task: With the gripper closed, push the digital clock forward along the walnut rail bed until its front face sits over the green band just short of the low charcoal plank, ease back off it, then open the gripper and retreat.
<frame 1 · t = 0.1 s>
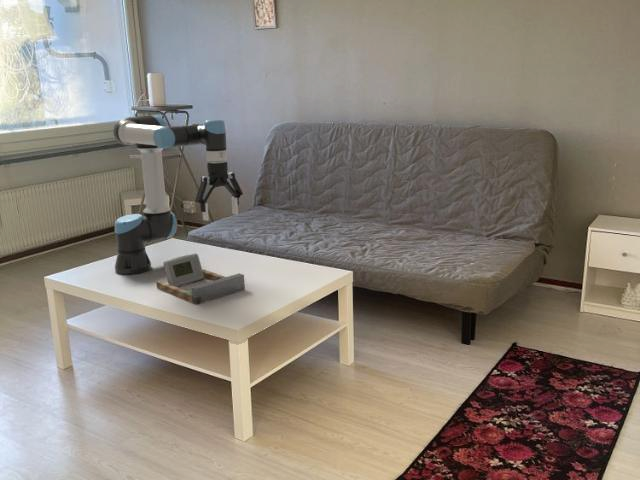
hand: (220, 217, 243), 28 cm above the table, fingers open, 13 cm apart
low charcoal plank: (219, 296, 239), on the table
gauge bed: (200, 288, 248), on the table
digital clock: (185, 283, 256), on the table
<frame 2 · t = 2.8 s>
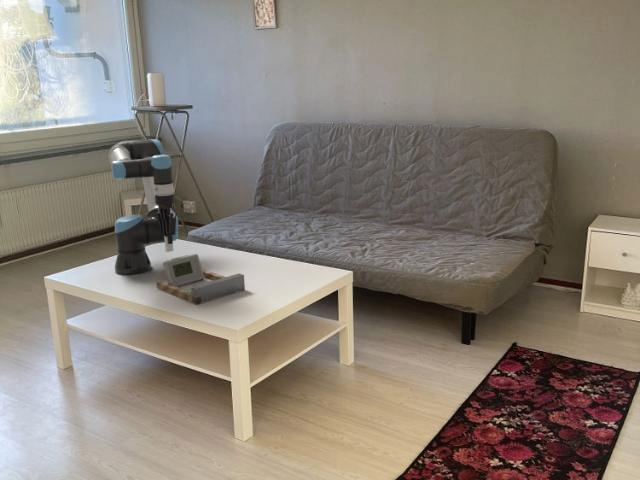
hand: (169, 251, 259), 12 cm above the table, fingers closed
nothing on the table moved.
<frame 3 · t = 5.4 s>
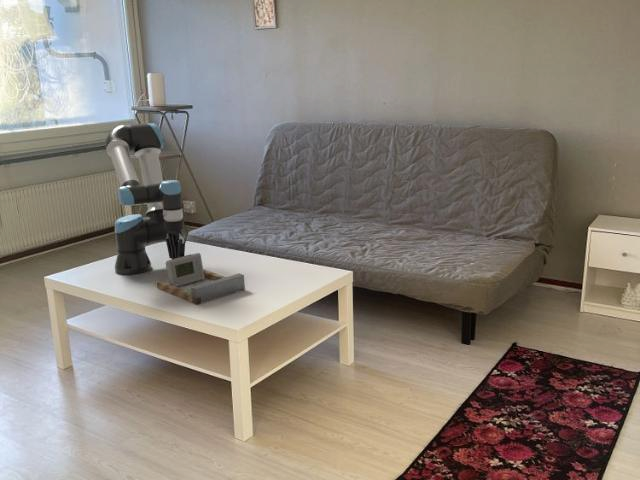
hand: (178, 276, 258), 2 cm above the table, fingers closed
digital clock: (185, 282, 255), on the table, touching gripper, hand
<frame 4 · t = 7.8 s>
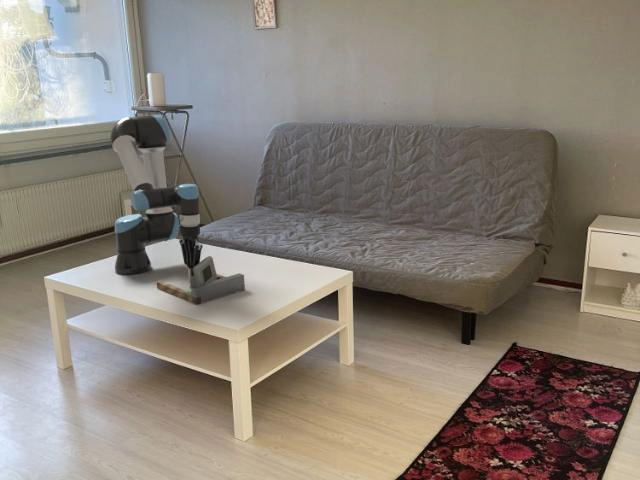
hand: (192, 282, 250), 2 cm above the table, fingers closed
digital clock: (204, 287, 248), on the table, touching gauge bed, gripper, hand
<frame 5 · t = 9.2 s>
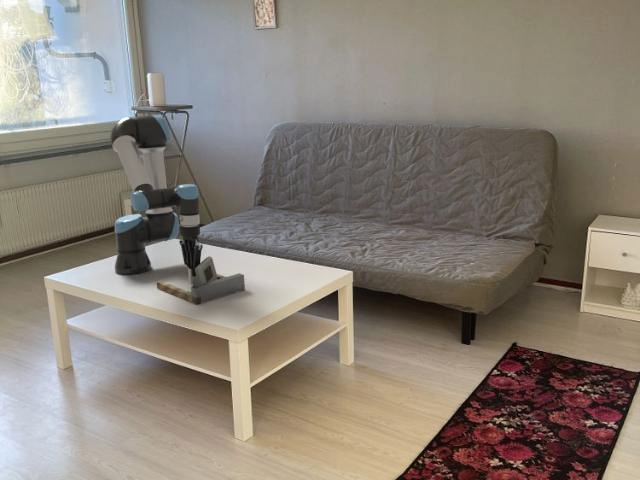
hand: (193, 283, 249), 2 cm above the table, fingers closed
digital clock: (205, 288, 248), on the table, touching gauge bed, gripper
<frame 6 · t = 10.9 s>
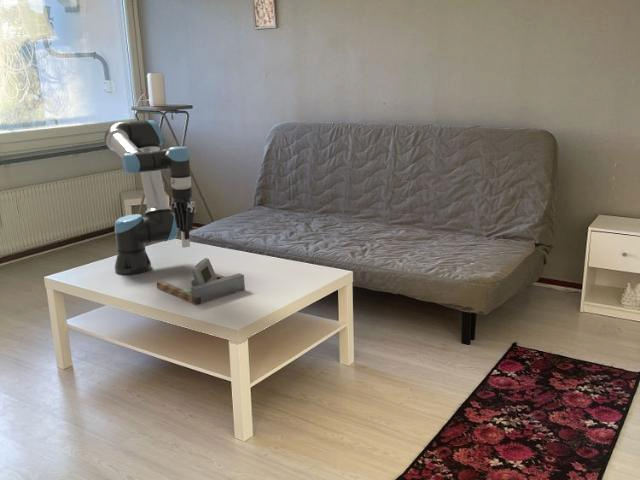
hand: (186, 246, 250), 16 cm above the table, fingers closed
digital clock: (206, 289, 248), on the table
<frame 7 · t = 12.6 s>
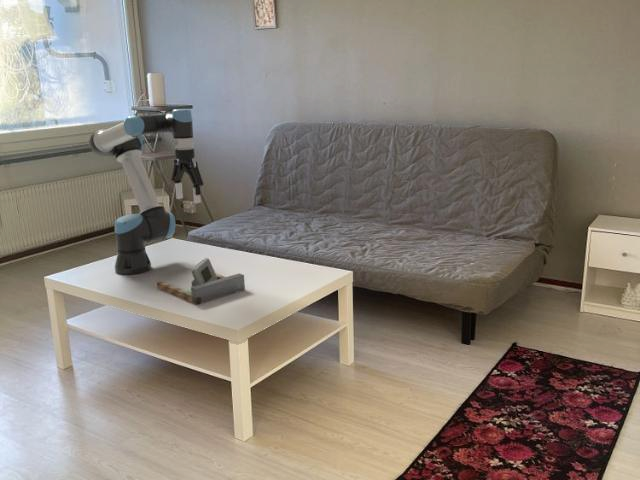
hand: (188, 200, 259), 31 cm above the table, fingers open, 13 cm apart
nothing on the table moved.
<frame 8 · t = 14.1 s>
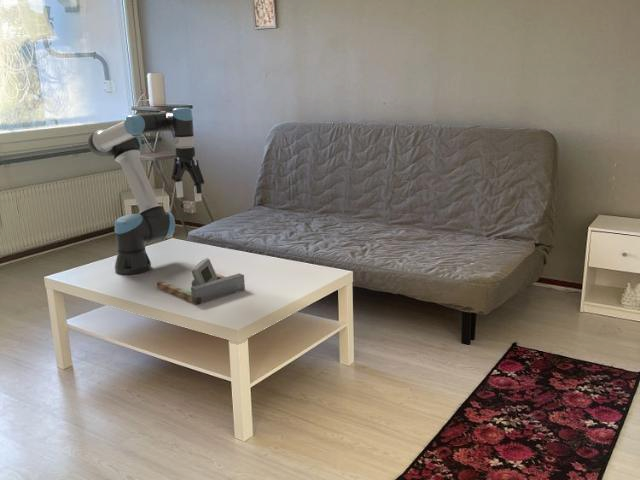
hand: (189, 199, 260), 32 cm above the table, fingers open, 13 cm apart
nothing on the table moved.
at the end: digital clock inside the target area (1.8 cm from its centre), on the table; digital clock touching table; digital clock tilted 0° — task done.
